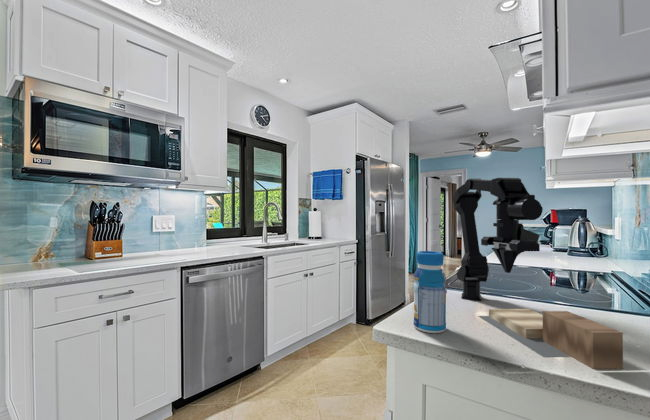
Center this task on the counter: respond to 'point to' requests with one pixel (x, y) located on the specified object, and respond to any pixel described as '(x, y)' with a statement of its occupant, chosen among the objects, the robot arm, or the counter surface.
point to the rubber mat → (528, 340)
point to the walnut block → (584, 339)
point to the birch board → (520, 321)
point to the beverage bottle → (430, 293)
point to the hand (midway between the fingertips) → (507, 272)
